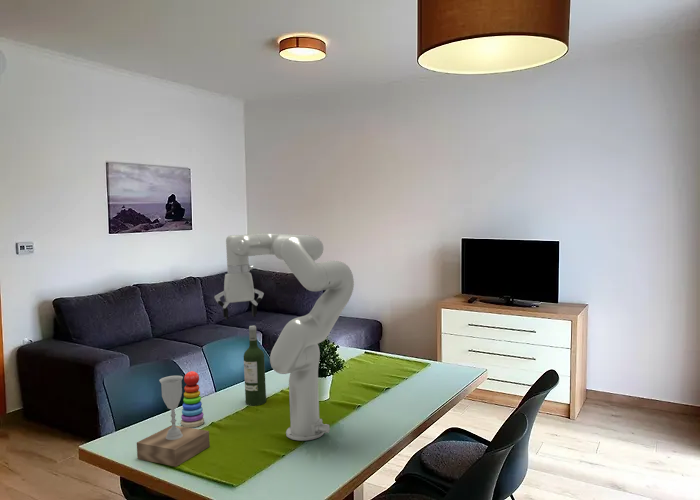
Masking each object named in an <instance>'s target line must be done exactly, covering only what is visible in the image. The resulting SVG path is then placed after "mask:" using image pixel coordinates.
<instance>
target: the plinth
mask: <svg viewBox="0 0 700 500" xmlns="http://www.w3.org/2000/svg"><path fill="white" fill-rule="evenodd" d="M175 426H176V428H179V429H180V431H181V433H182V434H183V436H182V437H181V438H179V439H175V440H168V439H166V436H167V433H168V430H169V429H171V427H172V424H171V425H170V426H168V427H165V428H163V429H161V430H160V431H159V430H158V432H155V433H153V434H151V435H149V436H147V437H145V438H143V439H141V440H139V441H137V442H136V453H137V454H136V457H137V458H136V459H138V460H141V461H147V462H152V463H157V464H161V465H166V466H171V467H175V468H176V467H178V466H180V465H182V464H183V463H185V462H186V461H188V460H190V459H191V458H193V457H195V456H196V455H198V454H199V453H201V452H203V451H205V450H207V449H208V448H210V447H211V445H210V444H211V442H210V431H209V430H207V429H206V430H205V429H198V428H195V427H192V428H187V427H183V426H182V425H181V426H180V425H175Z"/></svg>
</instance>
